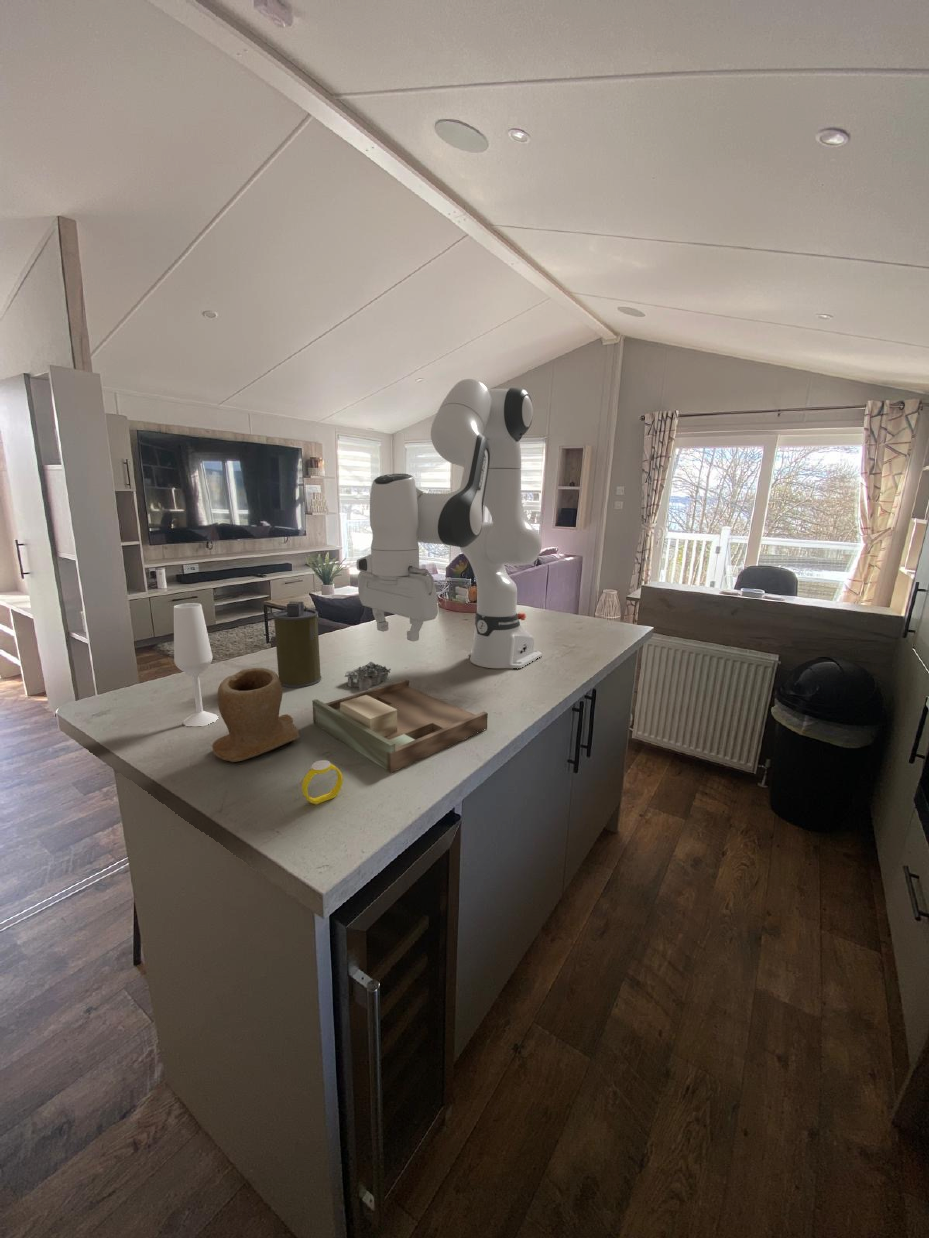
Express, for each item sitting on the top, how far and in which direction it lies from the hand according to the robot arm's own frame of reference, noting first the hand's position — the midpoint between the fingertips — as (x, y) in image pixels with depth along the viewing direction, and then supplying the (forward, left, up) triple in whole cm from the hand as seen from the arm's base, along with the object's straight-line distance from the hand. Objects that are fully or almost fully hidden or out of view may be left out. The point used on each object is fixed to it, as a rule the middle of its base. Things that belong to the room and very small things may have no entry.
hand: (397, 635), depth 96 cm
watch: (+24, +12, -19) cm, 33 cm away
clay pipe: (+24, -10, -19) cm, 32 cm away
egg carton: (-10, -26, -20) cm, 34 cm away
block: (+7, 0, -17) cm, 19 cm away
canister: (+2, -38, -19) cm, 43 cm away
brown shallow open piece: (0, 0, -19) cm, 19 cm away
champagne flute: (+28, -30, -19) cm, 45 cm away
